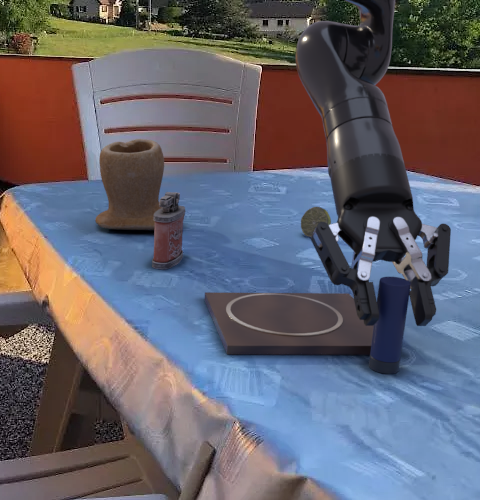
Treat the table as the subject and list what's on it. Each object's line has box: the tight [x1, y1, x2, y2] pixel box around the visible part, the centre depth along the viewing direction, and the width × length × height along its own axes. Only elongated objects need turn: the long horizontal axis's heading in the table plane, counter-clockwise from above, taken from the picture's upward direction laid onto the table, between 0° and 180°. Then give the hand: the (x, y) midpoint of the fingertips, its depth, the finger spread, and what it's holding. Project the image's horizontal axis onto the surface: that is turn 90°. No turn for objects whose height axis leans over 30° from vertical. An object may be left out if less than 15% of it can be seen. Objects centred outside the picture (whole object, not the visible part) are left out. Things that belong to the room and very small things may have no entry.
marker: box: [368, 276, 411, 375], centre depth 68 cm, size 3×3×9 cm
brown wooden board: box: [203, 291, 374, 356], centre depth 80 cm, size 18×16×1 cm
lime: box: [300, 206, 332, 238], centre depth 117 cm, size 4×5×5 cm
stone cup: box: [95, 138, 186, 231], centre depth 117 cm, size 15×12×15 cm
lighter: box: [151, 191, 186, 270], centre depth 101 cm, size 8×3×10 cm, turn 159°
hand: (398, 322), depth 66 cm, fingers open, 4 cm apart
